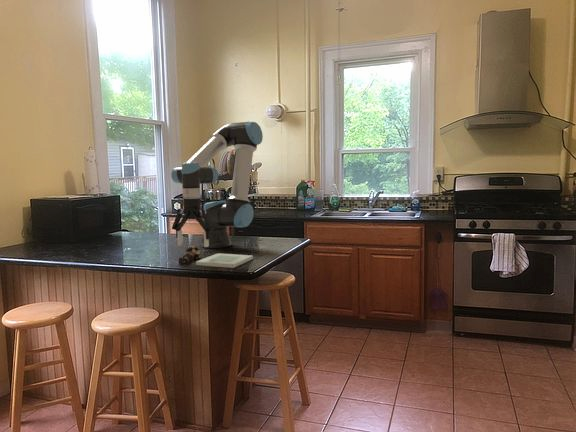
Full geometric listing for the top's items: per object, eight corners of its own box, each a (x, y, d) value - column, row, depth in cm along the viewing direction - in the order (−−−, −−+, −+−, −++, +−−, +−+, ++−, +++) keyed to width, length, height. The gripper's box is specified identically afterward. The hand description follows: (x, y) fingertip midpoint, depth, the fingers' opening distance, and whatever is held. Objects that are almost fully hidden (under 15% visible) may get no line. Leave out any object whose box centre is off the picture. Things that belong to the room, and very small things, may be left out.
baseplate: (217, 256, 209) (217, 253, 209) (253, 258, 202) (252, 255, 202) (196, 265, 192) (195, 261, 192) (233, 267, 186) (233, 264, 186)
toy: (177, 251, 194) (192, 242, 208) (175, 265, 196) (190, 255, 210) (190, 255, 193) (205, 245, 207) (188, 269, 195) (203, 258, 209)
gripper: (162, 198, 200) (164, 245, 202) (211, 198, 191) (213, 248, 193) (173, 197, 207) (174, 243, 209) (220, 197, 198) (222, 245, 200)
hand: (193, 245), depth 201 cm, fingers open, 13 cm apart
